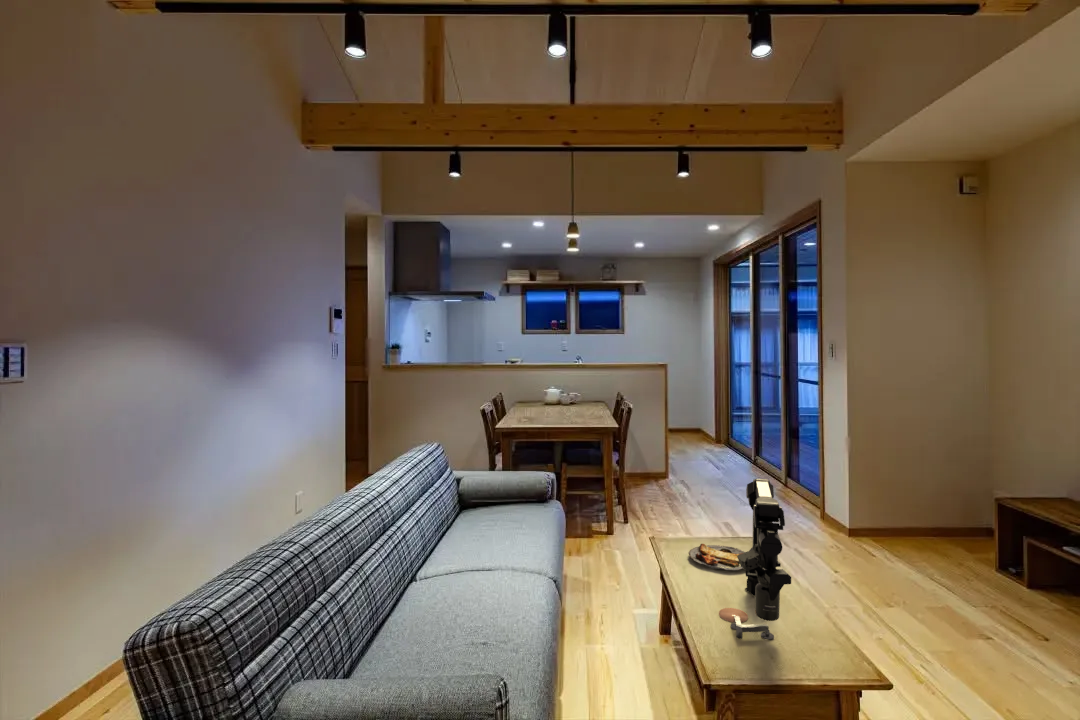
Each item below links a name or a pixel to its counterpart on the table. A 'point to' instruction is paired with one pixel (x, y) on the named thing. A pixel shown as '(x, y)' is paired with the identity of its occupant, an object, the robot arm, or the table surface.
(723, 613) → the peach domed disc
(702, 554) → the food plate
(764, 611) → the supplement bottle
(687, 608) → the table surface
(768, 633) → the jointed grey bar linkage
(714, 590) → the table surface
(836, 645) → the table surface
